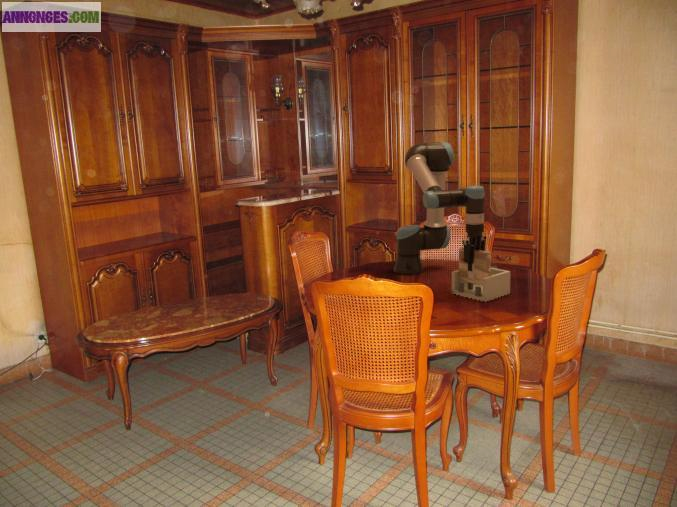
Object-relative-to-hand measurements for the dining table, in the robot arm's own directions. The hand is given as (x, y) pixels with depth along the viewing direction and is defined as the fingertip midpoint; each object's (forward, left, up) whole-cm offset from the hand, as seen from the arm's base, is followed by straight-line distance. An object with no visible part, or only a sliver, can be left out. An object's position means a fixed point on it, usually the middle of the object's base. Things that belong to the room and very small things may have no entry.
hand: (474, 277), depth 247 cm
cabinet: (0, +5, -8) cm, 10 cm away
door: (0, 0, -2) cm, 2 cm away
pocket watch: (-6, +26, -9) cm, 28 cm away
